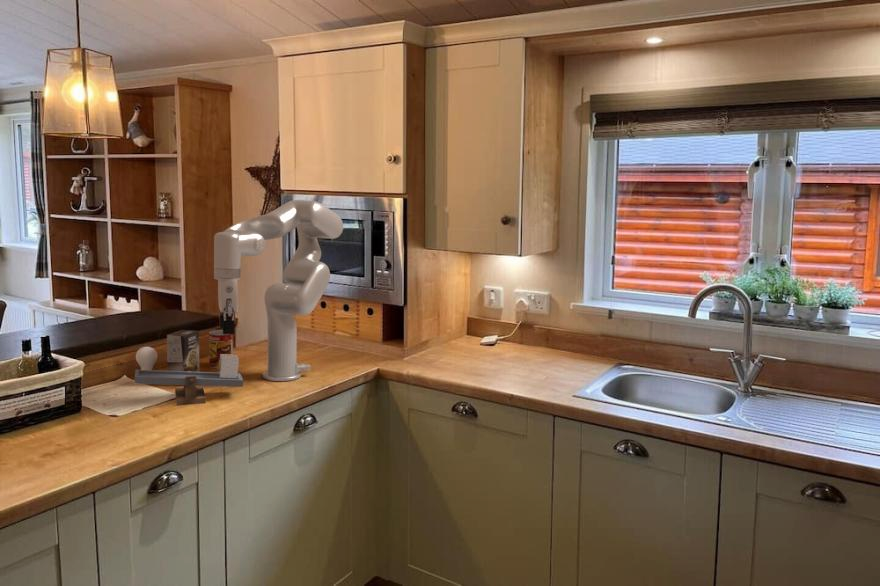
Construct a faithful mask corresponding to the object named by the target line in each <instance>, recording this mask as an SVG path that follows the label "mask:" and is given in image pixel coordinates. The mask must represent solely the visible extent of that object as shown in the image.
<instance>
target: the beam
mask: <svg viewBox="0 0 880 586" xmlns="http://www.w3.org/2000/svg"><path fill="white" fill-rule="evenodd" d="M134 370H135V372H134V382H133V383H134V384H135V385H163V386H165V385H169V386H170V385H171V386H183V385H185V376H196V386H198V387H203V386H204V387H205V386H207V387H241V388H242V387H243V385H244V378H243V376H242V375H241V373H239V372H238V374H237V379H219V378H218V372H219V371H217V372H211V371H199V372H191V371H167V370H159V369H158V370H157V369H152V370H141V369H134Z"/></svg>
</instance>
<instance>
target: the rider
mask: <svg viewBox="0 0 880 586" xmlns="http://www.w3.org/2000/svg"><path fill="white" fill-rule="evenodd" d="M239 364H240V357H239V356H238V354H233V355H231V354H220V362H219V368H218V371H217V372H218V378H219V379H237V374H238V373H239Z"/></svg>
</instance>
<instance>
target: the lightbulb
mask: <svg viewBox="0 0 880 586" xmlns="http://www.w3.org/2000/svg"><path fill="white" fill-rule="evenodd" d="M135 360H136V362H137V364H138V365H139V367H140V370H153V367H154V365H155V363H156V362H157V360H158V353H157V351H156V349H155V348H153V347H151V346H142V347H140V348H139V349H138V350H137V351H136V353H135Z"/></svg>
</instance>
